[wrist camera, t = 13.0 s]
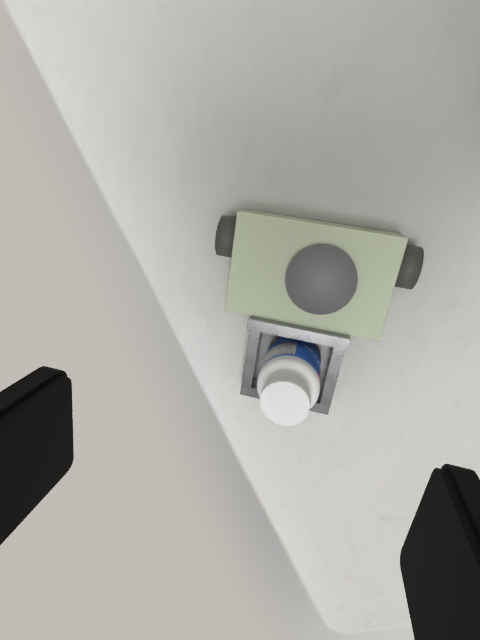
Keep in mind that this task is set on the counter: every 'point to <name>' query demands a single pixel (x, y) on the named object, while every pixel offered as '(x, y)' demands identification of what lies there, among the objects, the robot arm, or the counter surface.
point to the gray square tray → (269, 330)
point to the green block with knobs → (314, 271)
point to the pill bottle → (289, 380)
